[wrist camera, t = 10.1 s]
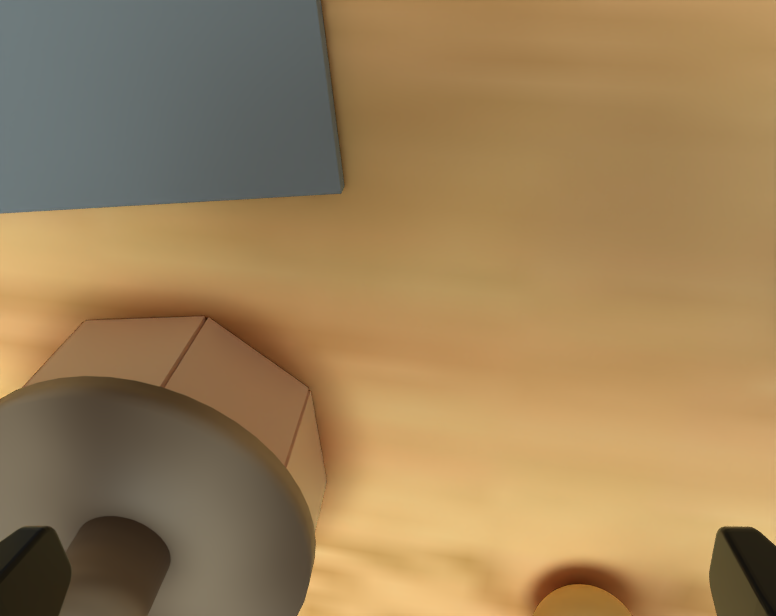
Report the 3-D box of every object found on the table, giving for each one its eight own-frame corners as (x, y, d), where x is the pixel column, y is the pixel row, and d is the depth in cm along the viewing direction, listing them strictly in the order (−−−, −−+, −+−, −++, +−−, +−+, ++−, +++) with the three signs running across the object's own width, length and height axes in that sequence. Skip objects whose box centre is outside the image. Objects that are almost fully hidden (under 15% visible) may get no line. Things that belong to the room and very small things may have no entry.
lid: (283, 370, 18) (227, 515, 14) (337, 644, 23) (309, 811, 19) (-104, 381, 19) (-267, 515, 15) (30, 637, 25) (-62, 792, 20)
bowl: (296, 312, 22) (265, 387, 18) (337, 540, 27) (319, 635, 23) (0, 323, 23) (-82, 396, 20) (90, 540, 28) (37, 629, 24)
